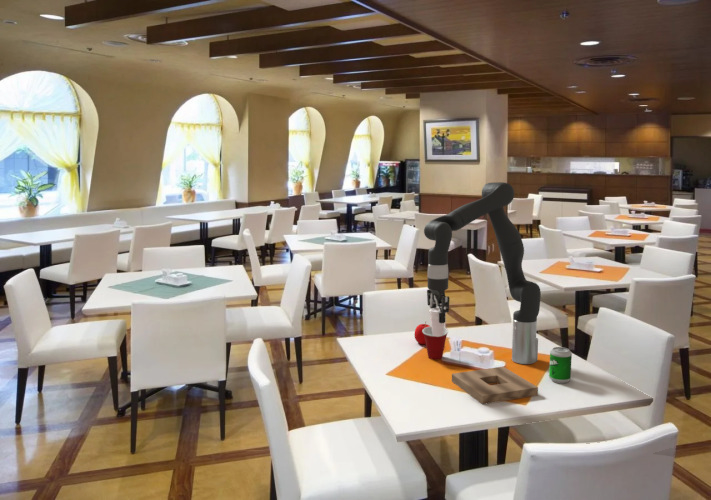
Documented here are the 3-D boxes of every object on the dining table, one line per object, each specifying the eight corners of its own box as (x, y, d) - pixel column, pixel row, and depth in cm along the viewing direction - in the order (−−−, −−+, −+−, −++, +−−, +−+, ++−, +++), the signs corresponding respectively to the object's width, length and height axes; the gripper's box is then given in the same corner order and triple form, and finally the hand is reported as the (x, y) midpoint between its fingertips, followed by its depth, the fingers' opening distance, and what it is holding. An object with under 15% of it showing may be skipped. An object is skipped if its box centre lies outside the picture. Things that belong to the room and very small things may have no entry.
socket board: (503, 373, 229) (503, 366, 228) (537, 395, 208) (538, 387, 208) (451, 381, 222) (451, 373, 221) (482, 404, 201) (482, 395, 201)
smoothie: (445, 338, 217) (446, 300, 214) (428, 337, 218) (428, 300, 216) (446, 332, 223) (447, 296, 221) (429, 332, 224) (429, 295, 222)
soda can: (570, 378, 224) (571, 347, 222) (570, 385, 217) (572, 353, 215) (549, 375, 226) (550, 345, 224) (548, 382, 219) (550, 351, 217)
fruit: (437, 345, 264) (437, 323, 262) (418, 347, 262) (418, 325, 260) (430, 339, 272) (430, 318, 271) (411, 341, 270) (411, 319, 269)
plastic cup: (418, 360, 245) (419, 332, 243) (425, 352, 255) (426, 325, 253) (444, 363, 241) (445, 334, 239) (450, 355, 251) (451, 327, 249)
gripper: (456, 279, 211) (456, 324, 214) (438, 271, 225) (438, 314, 227) (437, 280, 209) (437, 326, 212) (420, 273, 222) (420, 316, 225)
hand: (437, 320), depth 220 cm, fingers closed on smoothie, 6 cm apart
